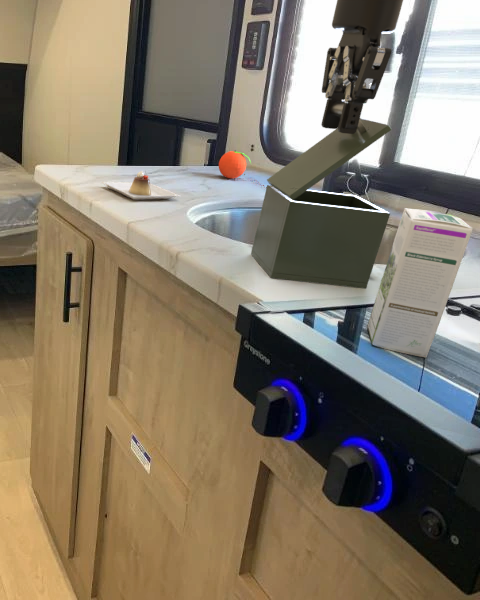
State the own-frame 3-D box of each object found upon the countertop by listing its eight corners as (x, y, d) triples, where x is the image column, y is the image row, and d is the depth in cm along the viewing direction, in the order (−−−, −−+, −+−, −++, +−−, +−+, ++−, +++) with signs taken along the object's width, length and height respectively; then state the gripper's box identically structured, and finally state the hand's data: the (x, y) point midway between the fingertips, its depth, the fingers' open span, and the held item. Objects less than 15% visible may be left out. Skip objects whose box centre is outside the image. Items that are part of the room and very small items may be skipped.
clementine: (248, 179, 157) (254, 152, 154) (245, 183, 150) (252, 155, 148) (218, 174, 159) (223, 147, 156) (214, 177, 153) (219, 149, 150)
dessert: (180, 201, 122) (184, 177, 120) (131, 201, 116) (135, 177, 114) (146, 187, 132) (150, 165, 130) (100, 187, 126) (103, 164, 124)
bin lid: (356, 120, 85) (338, 91, 83) (391, 129, 75) (372, 97, 74) (269, 184, 88) (251, 157, 87) (292, 200, 79) (272, 170, 77)
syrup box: (428, 359, 63) (478, 227, 58) (369, 345, 65) (412, 216, 59) (418, 338, 69) (464, 215, 63) (363, 326, 70) (403, 205, 65)
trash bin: (336, 263, 93) (356, 195, 89) (366, 288, 83) (390, 213, 79) (250, 254, 93) (267, 184, 88) (270, 278, 83) (290, 201, 79)
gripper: (433, -14, 67) (390, 140, 74) (375, -3, 81) (343, 127, 87) (368, -21, 67) (330, 134, 74) (321, -9, 80) (292, 122, 87)
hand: (337, 129), depth 80 cm, fingers closed on bin lid, 5 cm apart
